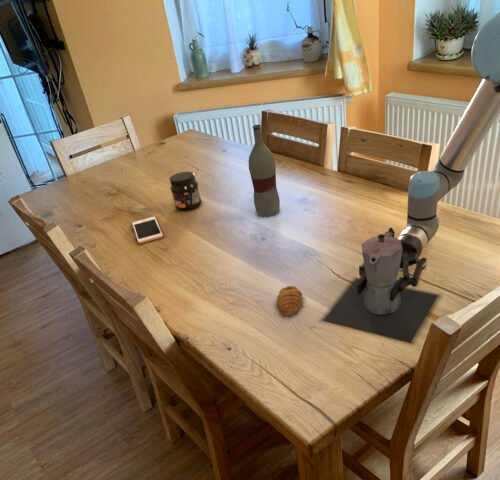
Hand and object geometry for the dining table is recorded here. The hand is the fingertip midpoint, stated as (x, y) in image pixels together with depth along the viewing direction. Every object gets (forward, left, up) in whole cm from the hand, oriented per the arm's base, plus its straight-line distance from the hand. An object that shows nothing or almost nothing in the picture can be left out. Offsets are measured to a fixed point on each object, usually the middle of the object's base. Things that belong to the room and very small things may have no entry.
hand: (375, 292), depth 118 cm
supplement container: (+92, -40, -7) cm, 100 cm away
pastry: (+22, +3, -7) cm, 23 cm away
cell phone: (+94, -18, -7) cm, 96 cm away
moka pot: (0, -5, -7) cm, 8 cm away
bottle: (+58, -44, -7) cm, 73 cm away
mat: (0, -4, -7) cm, 8 cm away
